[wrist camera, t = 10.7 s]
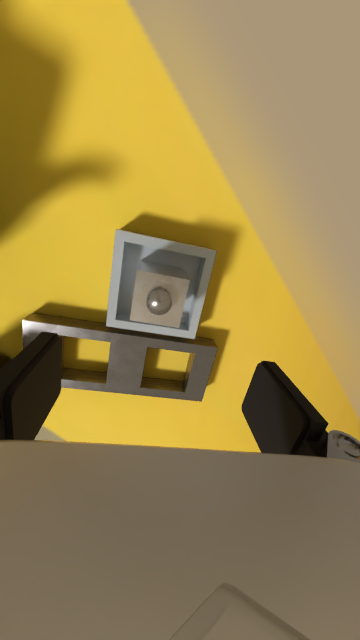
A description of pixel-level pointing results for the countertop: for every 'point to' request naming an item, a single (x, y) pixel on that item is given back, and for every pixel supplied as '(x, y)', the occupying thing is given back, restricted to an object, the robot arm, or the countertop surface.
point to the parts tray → (161, 251)
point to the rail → (128, 358)
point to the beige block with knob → (159, 294)
